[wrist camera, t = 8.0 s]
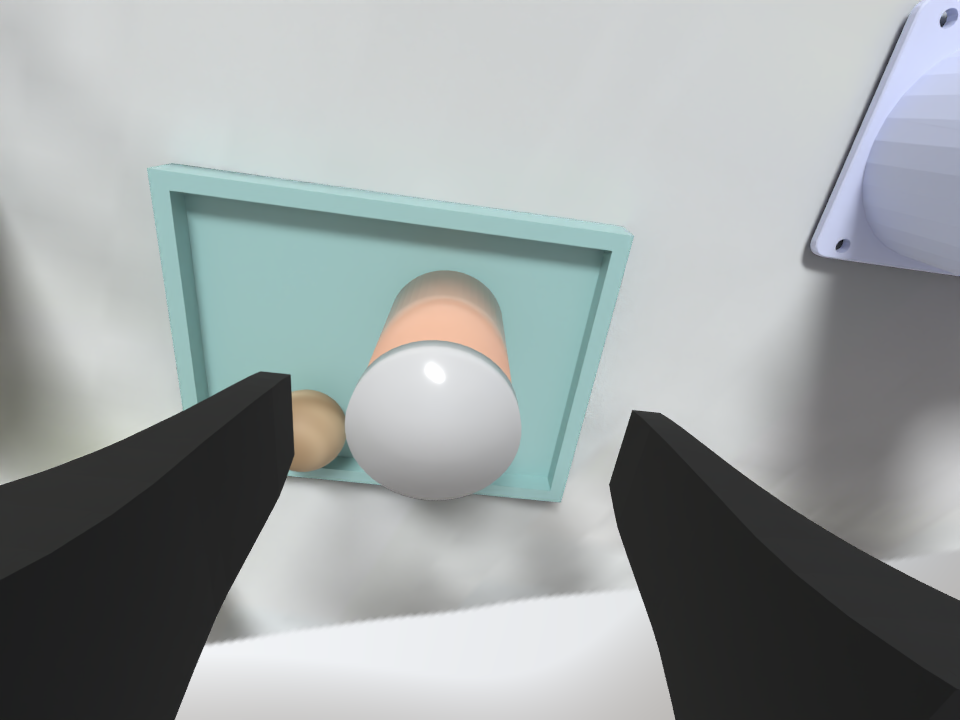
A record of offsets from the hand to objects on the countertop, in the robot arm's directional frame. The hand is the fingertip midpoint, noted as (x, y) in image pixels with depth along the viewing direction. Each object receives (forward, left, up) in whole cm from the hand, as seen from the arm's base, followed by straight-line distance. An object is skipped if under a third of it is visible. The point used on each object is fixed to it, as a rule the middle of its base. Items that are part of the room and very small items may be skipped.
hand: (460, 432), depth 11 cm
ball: (+6, +6, -9) cm, 12 cm away
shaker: (+1, +2, -9) cm, 9 cm away
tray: (+3, +3, -10) cm, 11 cm away
